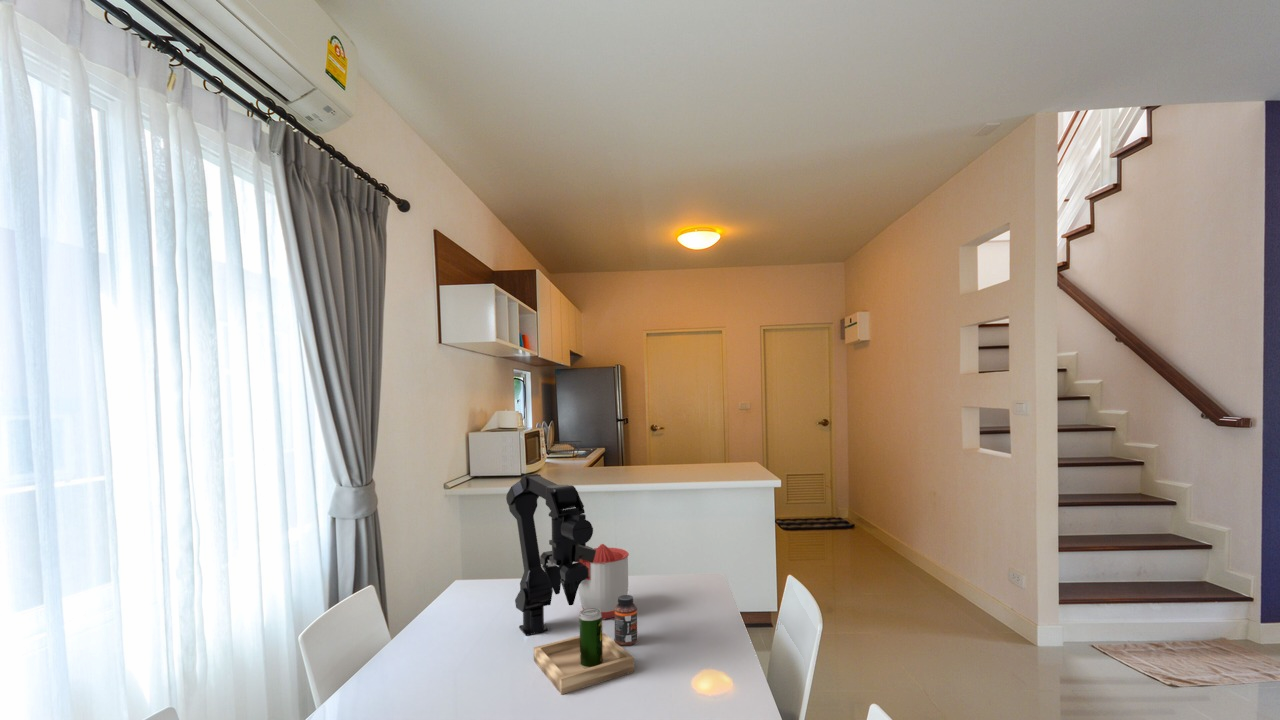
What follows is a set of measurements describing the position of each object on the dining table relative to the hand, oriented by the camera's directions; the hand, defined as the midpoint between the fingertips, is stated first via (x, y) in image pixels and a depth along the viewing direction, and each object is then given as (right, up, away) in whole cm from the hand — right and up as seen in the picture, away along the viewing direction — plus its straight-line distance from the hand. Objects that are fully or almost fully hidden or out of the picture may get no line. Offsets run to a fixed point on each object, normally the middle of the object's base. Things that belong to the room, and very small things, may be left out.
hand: (564, 599), depth 137 cm
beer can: (+8, -11, -10) cm, 17 cm away
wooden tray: (+6, -12, -8) cm, 16 cm away
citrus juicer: (+8, -15, +24) cm, 29 cm away
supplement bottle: (+16, -13, +4) cm, 21 cm away
